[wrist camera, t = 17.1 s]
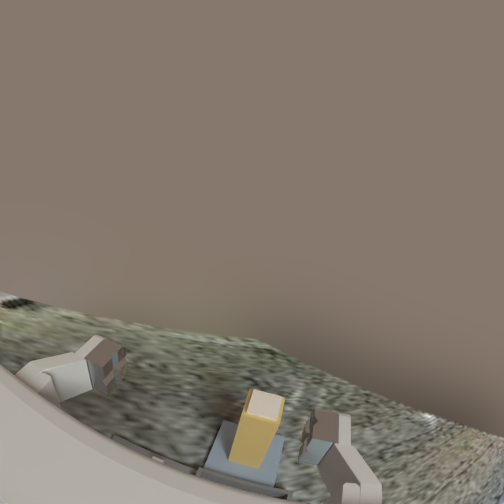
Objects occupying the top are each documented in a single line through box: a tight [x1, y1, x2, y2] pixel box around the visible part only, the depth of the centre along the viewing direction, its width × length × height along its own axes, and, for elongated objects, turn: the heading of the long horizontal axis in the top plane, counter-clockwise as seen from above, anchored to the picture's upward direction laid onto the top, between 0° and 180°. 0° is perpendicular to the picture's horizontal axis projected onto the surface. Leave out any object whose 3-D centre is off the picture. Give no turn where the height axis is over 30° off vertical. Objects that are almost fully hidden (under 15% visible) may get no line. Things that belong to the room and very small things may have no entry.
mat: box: [204, 420, 285, 487], centre depth 38 cm, size 10×10×1 cm
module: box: [228, 389, 285, 469], centre depth 36 cm, size 4×4×13 cm
